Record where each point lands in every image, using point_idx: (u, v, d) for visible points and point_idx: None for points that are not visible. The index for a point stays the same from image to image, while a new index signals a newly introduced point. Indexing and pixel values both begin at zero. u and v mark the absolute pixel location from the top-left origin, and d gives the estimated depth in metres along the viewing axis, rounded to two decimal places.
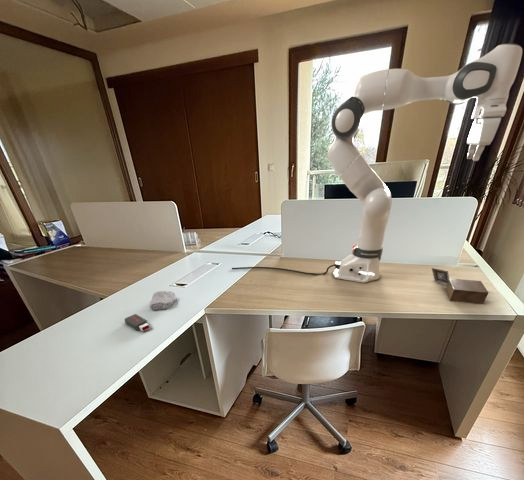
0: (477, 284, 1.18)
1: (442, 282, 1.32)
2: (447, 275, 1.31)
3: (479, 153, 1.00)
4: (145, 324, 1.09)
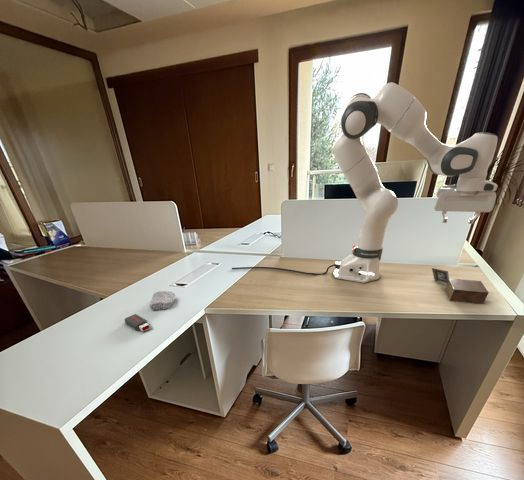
0: (477, 284, 1.18)
1: (442, 282, 1.32)
2: (447, 275, 1.31)
3: None
4: (145, 324, 1.09)
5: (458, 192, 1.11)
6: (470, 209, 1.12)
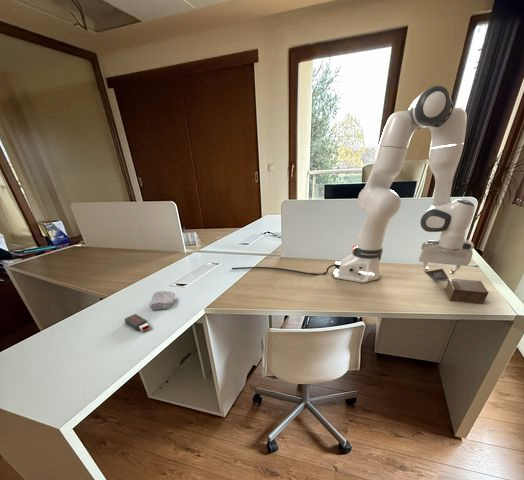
0: (477, 284, 1.18)
1: (442, 280, 1.31)
2: (444, 272, 1.30)
3: None
4: (145, 324, 1.09)
5: (440, 248, 1.23)
6: (450, 262, 1.25)
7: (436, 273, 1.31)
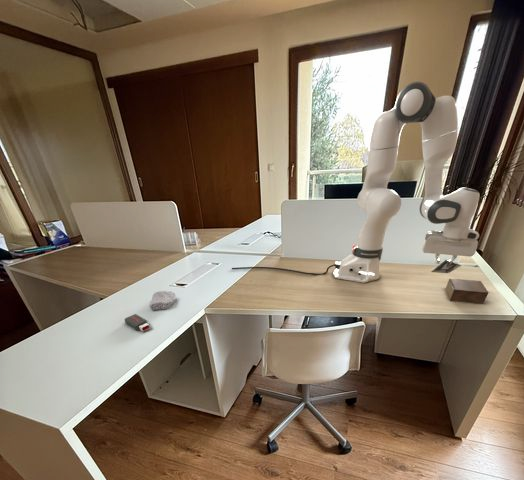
0: (477, 284, 1.18)
1: (453, 268, 1.27)
2: None
3: None
4: (145, 324, 1.09)
5: (444, 238, 1.21)
6: (455, 253, 1.22)
7: (443, 266, 1.29)
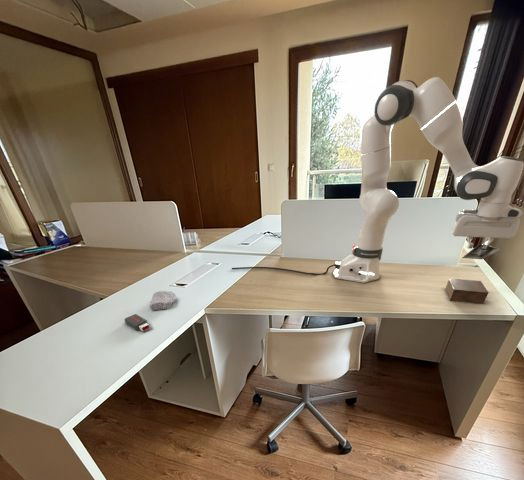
0: (477, 284, 1.18)
1: (489, 253, 1.11)
2: None
3: None
4: (145, 324, 1.09)
5: (480, 217, 1.04)
6: (491, 235, 1.06)
7: (476, 251, 1.12)
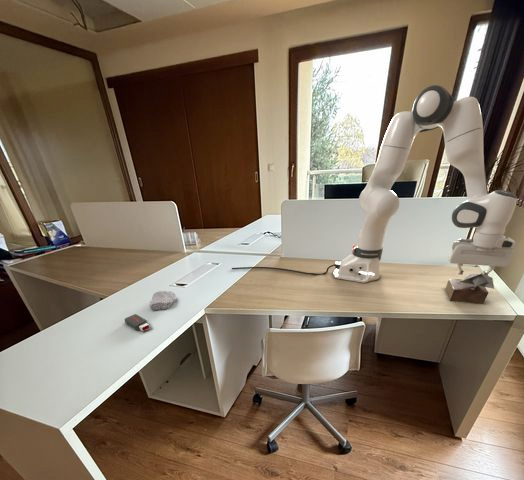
0: None
1: (485, 283, 1.14)
2: None
3: None
4: (145, 324, 1.09)
5: (475, 247, 1.08)
6: (486, 263, 1.10)
7: (475, 279, 1.15)
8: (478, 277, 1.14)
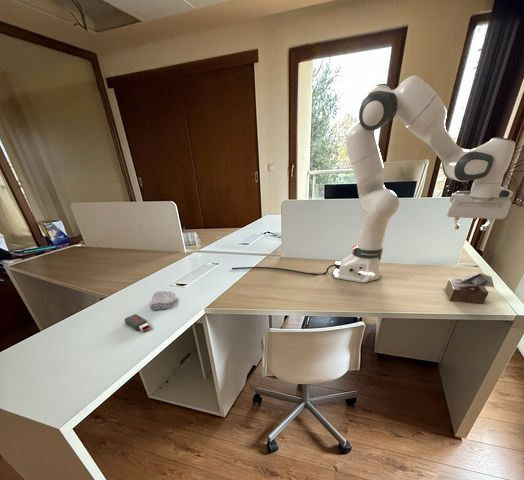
0: None
1: (484, 283, 1.14)
2: None
3: None
4: (145, 324, 1.09)
5: (472, 198, 1.08)
6: (484, 216, 1.10)
7: (474, 279, 1.15)
8: (477, 277, 1.14)
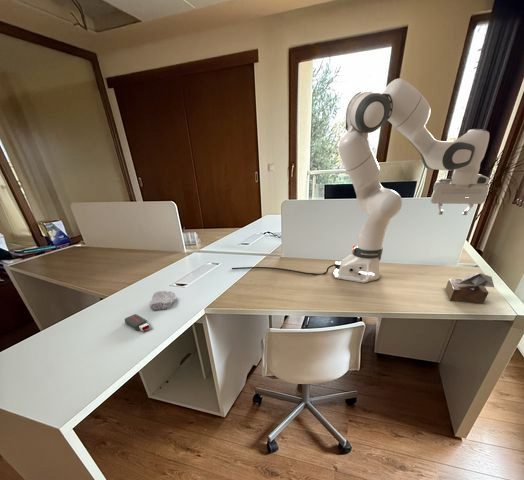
0: None
1: (484, 283, 1.14)
2: None
3: None
4: (145, 324, 1.09)
5: (453, 185, 1.18)
6: (464, 201, 1.20)
7: (474, 279, 1.15)
8: (477, 277, 1.14)
